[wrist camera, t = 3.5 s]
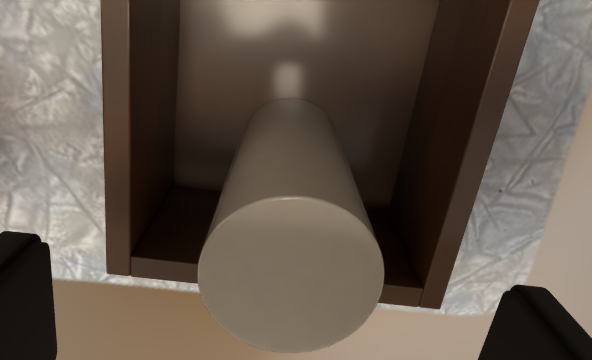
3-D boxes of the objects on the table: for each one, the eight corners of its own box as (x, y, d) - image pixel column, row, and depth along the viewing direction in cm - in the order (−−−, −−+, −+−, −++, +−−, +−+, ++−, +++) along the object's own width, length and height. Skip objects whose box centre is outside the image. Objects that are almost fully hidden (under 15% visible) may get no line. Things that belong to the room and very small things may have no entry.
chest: (397, 220, 22) (440, 310, 16) (159, 192, 21) (105, 274, 15) (477, -96, 17) (588, -149, 11) (169, -148, 16) (94, -240, 10)
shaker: (321, 83, 19) (355, 170, 9) (351, 176, 20) (405, 327, 11) (224, 117, 19) (164, 231, 10) (260, 205, 21) (238, 373, 12)
